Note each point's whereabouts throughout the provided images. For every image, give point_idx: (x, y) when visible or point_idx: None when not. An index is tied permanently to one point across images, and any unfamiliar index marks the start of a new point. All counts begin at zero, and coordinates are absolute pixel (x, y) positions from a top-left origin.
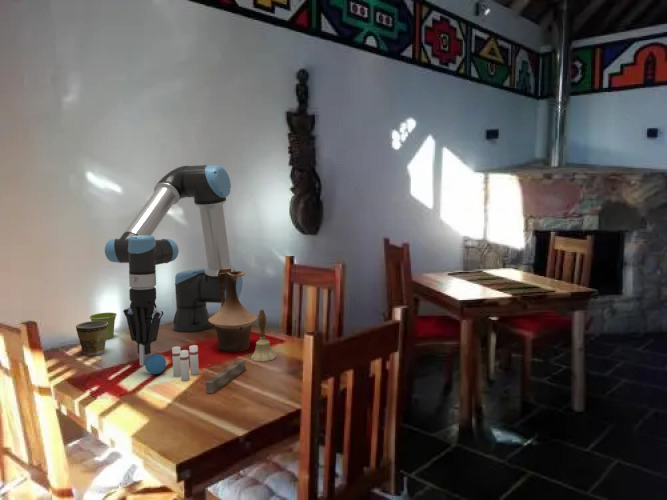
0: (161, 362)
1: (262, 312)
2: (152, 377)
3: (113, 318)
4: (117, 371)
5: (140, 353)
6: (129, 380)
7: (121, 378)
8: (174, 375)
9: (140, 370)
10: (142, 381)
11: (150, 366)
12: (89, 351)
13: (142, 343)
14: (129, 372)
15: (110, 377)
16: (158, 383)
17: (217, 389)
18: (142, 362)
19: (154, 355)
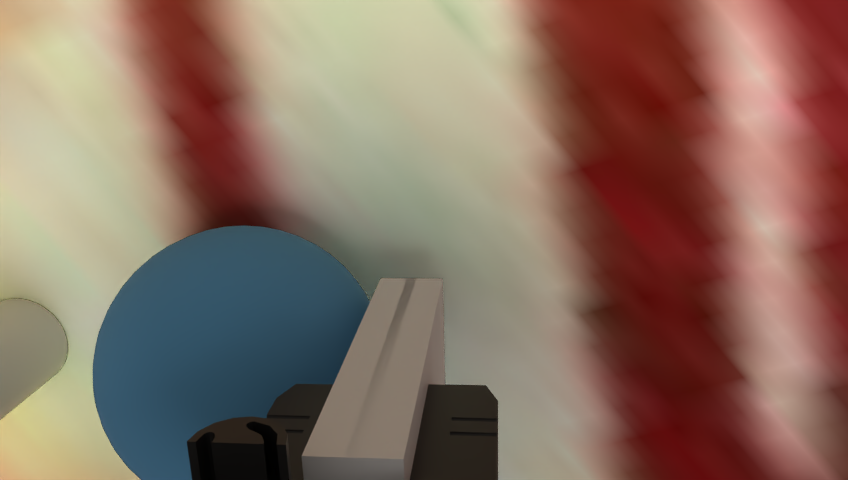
0: (96, 351)
1: None
2: (232, 198)
3: None
4: (814, 241)
5: (404, 360)
6: (427, 17)
7: (582, 43)
8: (18, 304)
9: (542, 352)
10: (245, 43)
11: (207, 237)
12: None
13: (252, 437)
14: (630, 257)
15: (758, 24)
16: (18, 52)
17: None
18: (385, 295)
19: (173, 400)
